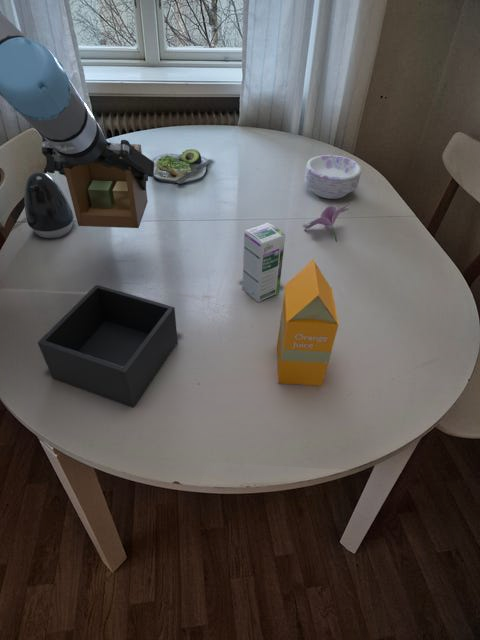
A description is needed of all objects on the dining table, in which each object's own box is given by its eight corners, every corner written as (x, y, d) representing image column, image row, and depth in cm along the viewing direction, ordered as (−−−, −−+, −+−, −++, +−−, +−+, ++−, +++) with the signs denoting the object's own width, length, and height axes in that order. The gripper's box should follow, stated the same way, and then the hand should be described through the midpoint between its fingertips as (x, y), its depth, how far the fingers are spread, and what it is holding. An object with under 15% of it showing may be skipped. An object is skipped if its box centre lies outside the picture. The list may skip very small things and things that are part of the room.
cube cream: (115, 208, 86) (112, 190, 83) (120, 199, 89) (116, 180, 86) (135, 209, 86) (133, 191, 83) (139, 200, 89) (136, 181, 86)
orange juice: (318, 348, 79) (338, 259, 66) (322, 386, 73) (347, 296, 59) (275, 346, 80) (287, 256, 66) (277, 383, 73) (290, 293, 59)
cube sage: (91, 208, 86) (87, 189, 83) (96, 198, 89) (92, 180, 86) (111, 208, 86) (108, 190, 83) (116, 199, 89) (112, 180, 86)
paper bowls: (301, 201, 120) (305, 173, 115) (304, 177, 131) (308, 151, 126) (356, 207, 119) (362, 180, 113) (355, 183, 130) (361, 157, 124)
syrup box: (258, 303, 88) (263, 243, 78) (240, 288, 91) (243, 228, 81) (279, 293, 91) (287, 234, 81) (261, 279, 94) (267, 220, 84)
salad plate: (206, 190, 123) (206, 174, 120) (144, 186, 123) (142, 171, 120) (213, 162, 137) (212, 147, 134) (157, 158, 137) (156, 144, 134)
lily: (351, 230, 112) (343, 194, 109) (364, 238, 101) (355, 197, 98) (306, 244, 113) (297, 208, 110) (314, 253, 102) (304, 214, 99)
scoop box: (78, 226, 83) (62, 165, 74) (92, 199, 90) (80, 141, 82) (138, 228, 83) (130, 168, 75) (147, 201, 91) (140, 144, 82)
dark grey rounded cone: (26, 245, 100) (4, 183, 90) (40, 221, 108) (21, 162, 97) (70, 245, 101) (54, 184, 90) (81, 222, 108) (66, 163, 98)
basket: (52, 378, 72) (37, 342, 66) (105, 319, 83) (96, 284, 77) (133, 407, 69) (125, 372, 63) (177, 342, 79) (174, 306, 73)
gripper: (-12, 152, 63) (51, 198, 84) (152, 159, 63) (173, 203, 85) (-9, 102, 63) (53, 161, 85) (154, 109, 63) (174, 165, 85)
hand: (113, 182), depth 85 cm, fingers closed on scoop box, 12 cm apart
